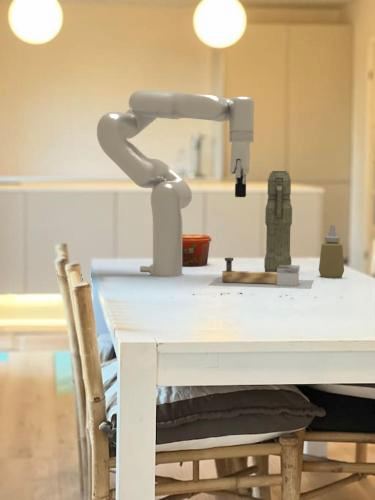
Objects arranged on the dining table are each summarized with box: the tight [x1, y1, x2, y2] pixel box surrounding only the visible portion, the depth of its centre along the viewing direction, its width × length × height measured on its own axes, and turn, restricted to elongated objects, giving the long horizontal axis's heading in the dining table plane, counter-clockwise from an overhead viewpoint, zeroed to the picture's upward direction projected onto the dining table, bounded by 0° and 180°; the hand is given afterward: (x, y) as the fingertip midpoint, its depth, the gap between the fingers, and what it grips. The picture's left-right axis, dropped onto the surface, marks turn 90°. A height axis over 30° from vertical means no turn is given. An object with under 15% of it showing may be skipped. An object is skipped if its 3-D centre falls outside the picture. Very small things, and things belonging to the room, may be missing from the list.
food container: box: [182, 234, 212, 267], centre depth 323 cm, size 16×16×11 cm
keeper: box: [277, 264, 300, 286], centre depth 262 cm, size 6×8×5 cm
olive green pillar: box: [263, 170, 293, 272], centre depth 291 cm, size 9×12×35 cm
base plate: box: [208, 276, 314, 290], centre depth 265 cm, size 30×19×2 cm, turn 79°
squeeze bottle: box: [318, 224, 345, 279], centre depth 280 cm, size 8×8×18 cm
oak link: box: [221, 257, 300, 284], centre depth 263 cm, size 23×4×7 cm, turn 77°
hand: (240, 196), depth 272 cm, fingers closed
